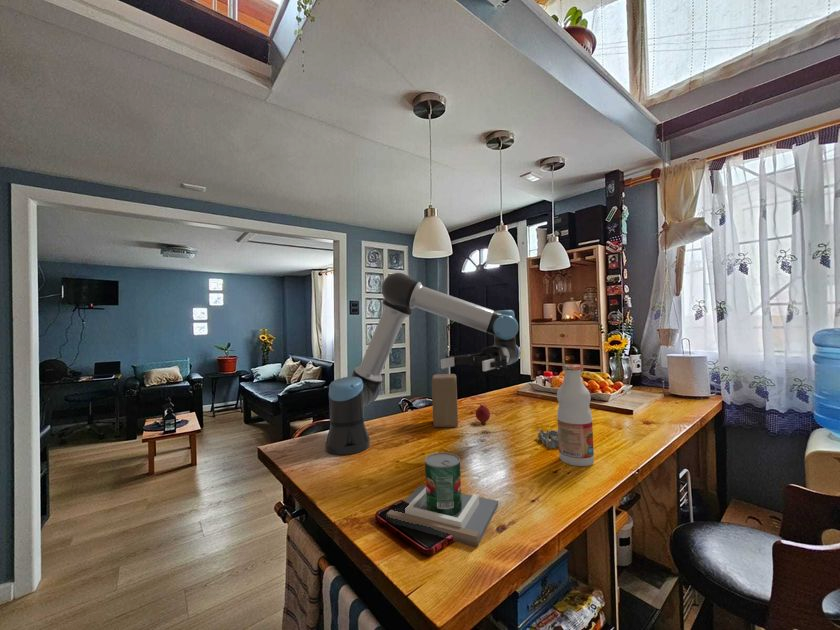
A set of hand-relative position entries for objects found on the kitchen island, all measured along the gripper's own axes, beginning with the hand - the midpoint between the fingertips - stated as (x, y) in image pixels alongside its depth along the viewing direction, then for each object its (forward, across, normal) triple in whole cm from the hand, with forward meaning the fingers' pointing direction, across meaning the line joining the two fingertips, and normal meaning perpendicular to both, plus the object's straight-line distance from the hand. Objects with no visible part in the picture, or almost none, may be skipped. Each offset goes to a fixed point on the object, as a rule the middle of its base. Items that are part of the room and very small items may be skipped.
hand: (461, 365), depth 97 cm
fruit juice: (-24, -24, -30) cm, 45 cm away
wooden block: (-35, +29, -30) cm, 54 cm away
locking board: (+21, -6, -30) cm, 37 cm away
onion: (-43, +16, -30) cm, 55 cm away
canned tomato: (+21, -6, -29) cm, 36 cm away
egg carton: (-35, -14, -30) cm, 48 cm away
